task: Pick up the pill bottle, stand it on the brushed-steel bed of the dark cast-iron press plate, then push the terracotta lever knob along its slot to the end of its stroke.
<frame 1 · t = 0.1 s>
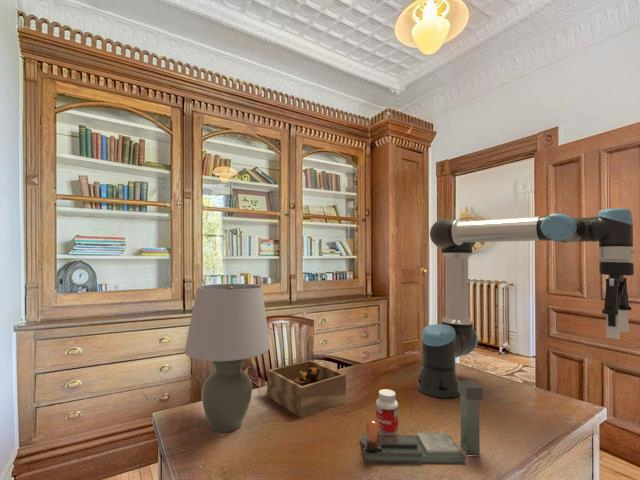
hand: (617, 335, 97), 28 cm above the table, fingers open, 13 cm apart
lamp: (226, 425, 97), on the table
lever: (372, 435, 82), point 5 cm above the table, slide at 0.0 cm
pill bottle: (386, 432, 94), on the table
press: (408, 448, 86), on the table
bear crate: (305, 398, 115), on the table
bear figurine: (305, 400, 115), resting in bear crate
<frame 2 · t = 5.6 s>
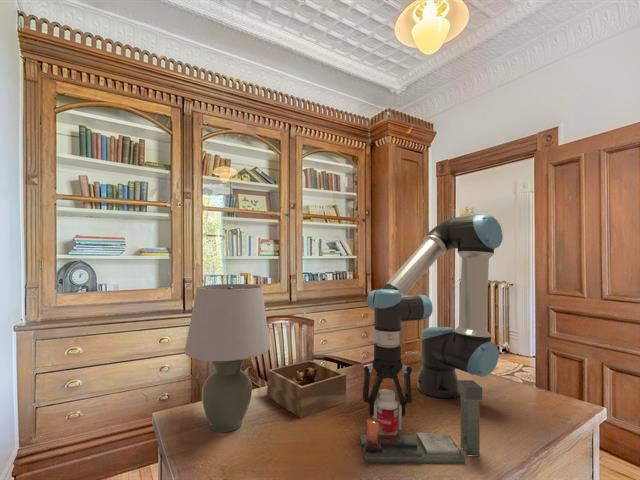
hand: (386, 426, 94), 1 cm above the table, fingers closed on pill bottle, 6 cm apart
pill bottle: (386, 432, 94), on the table, touching gripper
bear figurine: (302, 400, 115), resting in bear crate
everything else where it was.
when the fingers open (5 cm above the table, at t = 10.7 s): pill bottle stays where it is, resting on press.
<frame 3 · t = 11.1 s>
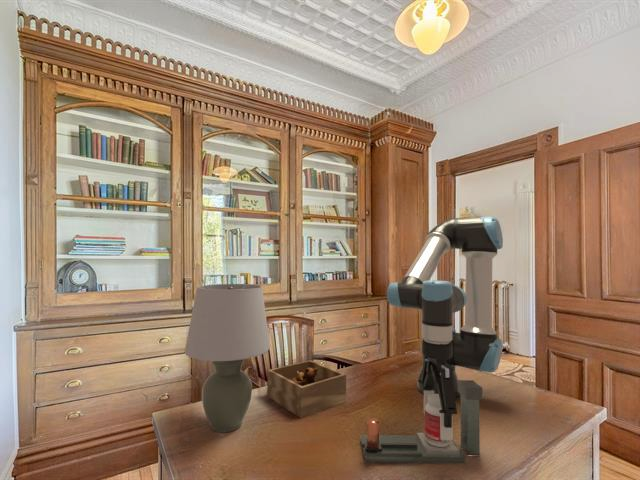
hand: (437, 426, 86), 6 cm above the table, fingers open, 11 cm apart
pill bottle: (437, 441, 85), point 2 cm above the table, touching press
everything else where it was.
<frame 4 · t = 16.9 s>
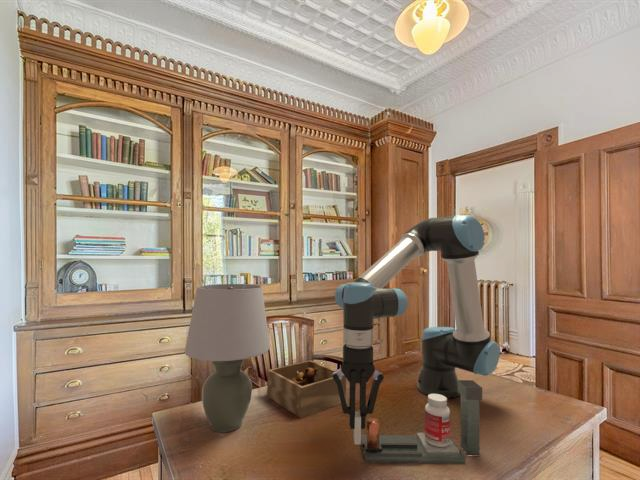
hand: (357, 441, 82), 4 cm above the table, fingers closed
lever: (373, 435, 82), point 5 cm above the table, slide at 0.1 cm, touching gripper
everything else where it was.
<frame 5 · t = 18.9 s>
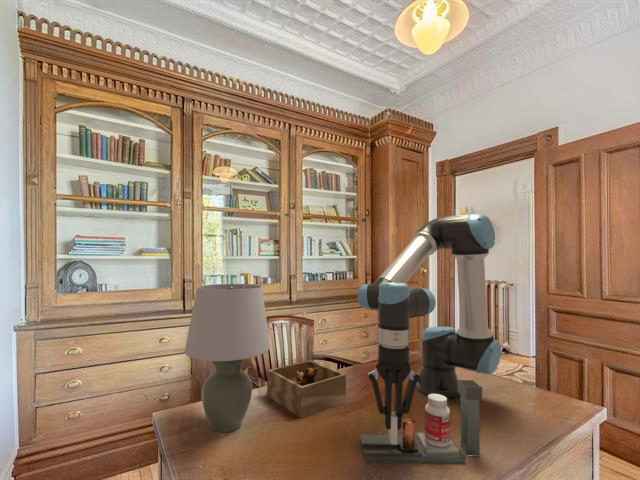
hand: (392, 441, 82), 4 cm above the table, fingers closed
lever: (408, 435, 82), point 5 cm above the table, slide at 8.9 cm, touching gripper
everything else where it was.
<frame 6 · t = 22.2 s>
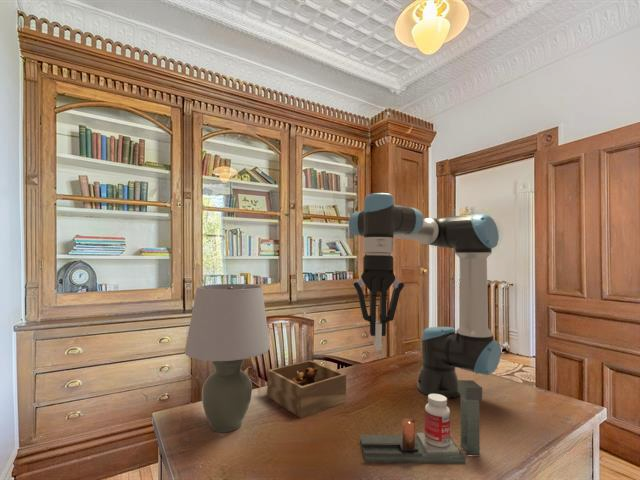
hand: (377, 348, 83), 26 cm above the table, fingers closed
lever: (408, 435, 82), point 5 cm above the table, slide at 8.9 cm
everything else where it was.
at the end: pill bottle inside the target area (0.1 cm from its centre), point 2.3 cm above the table; pill bottle tilted 0°; lever slide at 8.9 cm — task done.
